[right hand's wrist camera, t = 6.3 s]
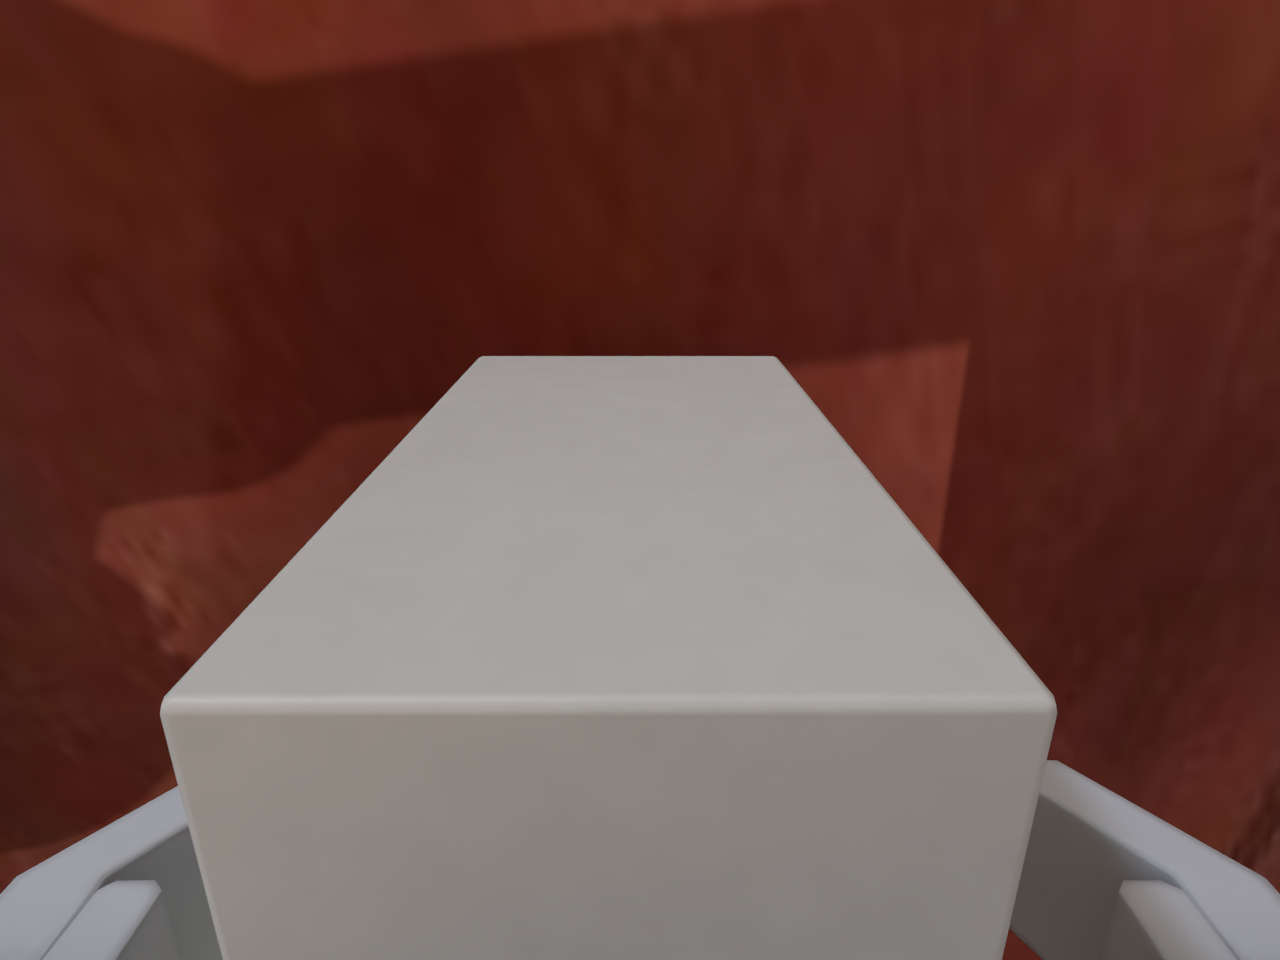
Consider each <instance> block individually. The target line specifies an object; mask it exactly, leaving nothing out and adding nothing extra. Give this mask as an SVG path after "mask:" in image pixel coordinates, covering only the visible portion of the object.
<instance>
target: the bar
mask: <svg viewBox="0 0 1280 960" xmlns="http://www.w3.org/2000/svg"><path fill="white" fill-rule="evenodd" d="M160 717H161V721H162V725H163V729H164V733H165V736H166V740H167V744H168V748H169V752H170V756H171V760H172V764H173V768H174V771H175V775H176V779H177V783H178V787H179V791H180V795H181V799H182V803H183V806H184V810H185V814H186V818H187V822H188V826H189V830H190V834H191V838H192V841H193V845H194V849H195V853H196V857H197V861H198V865H199V869H200V873H201V876H202V880H203V884H204V888H205V892H206V896H207V900H208V904H209V908H210V911H211V915H212V919H213V923H214V927H215V931H216V935H217V939H218V943H219V946H220V950H221V954H222V958H223V960H1002V957H1003V952H1004V948H1005V943H1006V939H1007V935H1008V930H1009V926H1010V921H1011V917H1012V912H1013V908H1014V903H1015V899H1016V895H1017V890H1018V886H1019V881H1020V877H1021V872H1022V868H1023V863H1024V859H1025V855H1026V850H1027V846H1028V841H1029V837H1030V832H1031V828H1032V823H1033V819H1034V814H1035V810H1036V806H1037V801H1038V797H1039V792H1040V788H1041V783H1042V779H1043V774H1044V770H1045V766H1046V761H1047V757H1048V752H1049V748H1050V743H1051V739H1052V734H1053V730H1054V726H1055V721H1056V717H1057V708H1056V703H1055V699H1054V696H1053V694H1052V693H1051V692H1050V691H1049V689H1048V688H1047V687H1046V686H1045V685H1044V683H1043V682H1042V681H1041V680H1040V678H1039V677H1038V676H1037V675H1036V674H1035V672H1034V671H1033V670H1032V669H1031V667H1030V666H1029V665H1028V664H1027V663H1026V661H1025V660H1024V659H1023V658H1022V656H1021V655H1020V654H1019V653H1018V652H1017V650H1016V649H1015V648H1014V647H1013V645H1012V644H1011V643H1010V642H1009V641H1008V639H1007V638H1006V637H1005V636H1004V634H1003V633H1002V632H1001V631H1000V630H999V628H998V627H997V626H996V625H995V624H994V622H993V621H992V620H991V619H990V617H989V616H988V615H987V614H986V613H985V611H984V610H983V609H982V608H981V606H980V605H979V604H978V603H977V602H976V600H975V599H974V598H973V597H972V595H971V594H970V593H969V592H968V591H967V589H966V588H965V587H964V586H963V584H962V583H961V582H960V581H959V580H958V578H957V577H956V576H955V575H954V573H953V572H952V571H951V570H950V569H949V567H948V566H947V565H946V564H945V562H944V561H943V560H942V559H941V558H940V556H939V555H938V554H937V553H936V551H935V550H934V549H933V548H932V547H931V545H930V544H929V543H928V542H927V540H926V539H925V538H924V537H923V536H922V534H921V533H920V532H919V531H918V529H917V528H916V527H915V526H914V525H913V523H912V522H911V521H910V520H909V518H908V517H907V516H906V515H905V514H904V512H903V511H902V510H901V509H900V507H899V506H898V505H897V504H896V503H895V501H894V500H893V499H892V498H891V496H890V495H889V494H888V493H887V492H886V490H885V489H884V488H883V487H882V485H881V484H880V483H879V482H878V481H877V479H876V478H875V477H874V476H873V474H872V473H871V472H870V471H869V470H868V468H867V467H866V466H865V465H864V463H863V462H862V461H861V460H860V459H859V457H858V456H857V455H856V454H855V452H854V451H853V450H852V449H851V448H850V446H849V445H848V444H847V443H846V441H845V440H844V439H843V438H842V437H841V435H840V434H839V433H838V432H837V430H836V429H835V428H834V427H833V426H832V424H831V423H830V422H829V421H828V419H827V418H826V417H825V416H824V415H823V413H822V412H821V411H820V410H819V408H818V407H817V406H816V405H815V404H814V402H813V401H812V400H811V399H810V397H809V396H808V395H807V394H806V393H805V391H804V390H803V389H802V388H801V386H800V385H799V384H798V383H797V382H796V380H795V379H794V378H793V377H792V375H791V374H790V373H789V372H788V371H787V369H786V368H785V367H784V366H783V364H782V363H781V362H780V361H779V360H778V358H776V357H774V356H482V357H480V358H478V359H477V360H476V361H475V363H474V364H473V365H472V366H471V367H470V368H469V369H468V370H467V371H466V372H465V373H464V374H463V375H462V377H461V378H460V379H459V380H458V381H457V382H456V383H455V384H454V385H453V386H452V387H451V388H450V389H449V391H448V392H447V393H446V394H445V395H444V396H443V397H442V398H441V399H440V400H439V401H438V402H437V403H436V405H435V406H434V407H433V408H432V409H431V410H430V411H429V412H428V413H427V414H426V415H425V416H424V417H423V419H422V420H421V421H420V422H419V423H418V424H417V425H416V426H415V427H414V428H413V429H412V430H411V431H410V433H409V434H408V435H407V436H406V437H405V438H404V439H403V440H402V441H401V442H400V443H399V444H398V445H397V447H396V448H395V449H394V450H393V451H392V452H391V453H390V454H389V455H388V456H387V457H386V458H385V459H384V461H383V462H382V463H381V464H380V465H379V466H378V467H377V468H376V469H375V470H374V471H373V472H372V473H371V475H370V476H369V477H368V478H367V479H366V480H365V481H364V482H363V483H362V484H361V485H360V486H359V487H358V489H357V490H356V491H355V492H354V493H353V494H352V495H351V496H350V497H349V498H348V499H347V500H346V501H345V503H344V504H343V505H342V506H341V507H340V508H339V509H338V510H337V511H336V512H335V513H334V514H333V515H332V517H331V518H330V519H329V520H328V521H327V522H326V523H325V524H324V525H323V526H322V527H321V528H320V529H319V531H318V532H317V533H316V534H315V535H314V536H313V537H312V538H311V539H310V540H309V541H308V542H307V543H306V545H305V546H304V547H303V548H302V549H301V550H300V551H299V552H298V553H297V554H296V555H295V556H294V557H293V559H292V560H291V561H290V562H289V563H288V564H287V565H286V566H285V567H284V568H283V569H282V570H281V571H280V573H279V574H278V575H277V576H276V577H275V578H274V579H273V580H272V581H271V582H270V583H269V584H268V585H267V587H266V588H265V589H264V590H263V591H262V592H261V593H260V594H259V595H258V596H257V597H256V598H255V599H254V601H253V602H252V603H251V604H250V605H249V606H248V607H247V608H246V609H245V610H244V611H243V612H242V613H241V615H240V616H239V617H238V618H237V619H236V620H235V621H234V622H233V623H232V624H231V625H230V626H229V628H228V629H227V630H226V631H225V632H224V633H223V634H222V635H221V636H220V637H219V638H218V639H217V640H216V642H215V643H214V644H213V645H212V646H211V647H210V648H209V649H208V650H207V651H206V652H205V653H204V654H203V656H202V657H201V658H200V659H199V660H198V661H197V662H196V663H195V664H194V665H193V666H192V667H191V668H190V670H189V671H188V672H187V673H186V674H185V675H184V676H183V677H182V678H181V679H180V680H179V681H178V682H177V684H176V685H175V686H174V687H173V688H172V689H171V690H170V691H169V692H168V693H167V694H166V695H165V696H164V699H163V701H162V704H161V710H160Z"/></svg>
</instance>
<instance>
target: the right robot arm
mask: <svg viewBox="0 0 1280 960" xmlns="http://www.w3.org/2000/svg"><path fill="white" fill-rule="evenodd" d="M1009 928H1010V929H1011V930H1012V931H1013V932H1014V933H1015V934H1016V935H1017V936H1018V937H1019V938H1020V939H1021V940H1022V941H1023V942H1024V943H1025V944H1027V945H1028V946H1029V947H1030V948H1031V949H1032V950H1033V951H1034V952H1035V953H1036V954H1037V955H1038V956H1039V957H1040V958H1041V959H1042V960H1280V894H1279V892H1278V891H1277V890H1276V889H1275V888H1274V887H1273V886H1272V885H1271V884H1270V883H1269V881H1268V880H1267V879H1266V878H1264V877H1263V876H1261V875H1259V874H1257V873H1256V872H1254V871H1252V870H1250V869H1248V868H1247V867H1245V866H1243V865H1241V864H1240V863H1238V862H1236V861H1234V860H1233V859H1231V858H1229V857H1227V856H1225V855H1224V854H1222V853H1220V852H1218V851H1217V850H1215V849H1213V848H1211V847H1209V846H1208V845H1206V844H1204V843H1202V842H1201V841H1199V840H1197V839H1195V838H1194V837H1192V836H1190V835H1188V834H1186V833H1185V832H1183V831H1181V830H1179V829H1178V828H1176V827H1174V826H1172V825H1171V824H1169V823H1167V822H1165V821H1163V820H1162V819H1160V818H1158V817H1156V816H1155V815H1153V814H1151V813H1149V812H1147V811H1146V810H1144V809H1142V808H1140V807H1139V806H1137V805H1135V804H1133V803H1132V802H1130V801H1128V800H1126V799H1124V798H1123V797H1121V796H1119V795H1117V794H1116V793H1114V792H1112V791H1110V790H1108V789H1107V788H1105V787H1103V786H1101V785H1100V784H1098V783H1096V782H1094V781H1093V780H1091V779H1089V778H1087V777H1085V776H1084V775H1082V774H1080V773H1078V772H1077V771H1075V770H1073V769H1071V768H1070V767H1068V766H1066V765H1064V764H1062V763H1061V762H1059V761H1057V760H1047V761H1046V766H1045V770H1044V774H1043V779H1042V783H1041V788H1040V792H1039V797H1038V801H1037V806H1036V810H1035V814H1034V819H1033V823H1032V828H1031V832H1030V837H1029V841H1028V846H1027V850H1026V855H1025V859H1024V863H1023V868H1022V872H1021V877H1020V881H1019V886H1018V890H1017V895H1016V899H1015V903H1014V908H1013V912H1012V917H1011V921H1010V926H1009ZM0 960H223V958H222V954H221V950H220V946H219V943H218V939H217V935H216V931H215V927H214V923H213V919H212V915H211V911H210V908H209V904H208V900H207V896H206V892H205V888H204V884H203V880H202V876H201V873H200V869H199V865H198V861H197V857H196V853H195V849H194V845H193V841H192V838H191V834H190V830H189V826H188V822H187V818H186V814H185V810H184V806H183V803H182V799H181V795H180V791H179V787H178V786H177V787H175V788H173V789H171V790H170V791H168V792H166V793H164V794H163V795H161V796H159V797H157V798H155V799H154V800H152V801H150V802H148V803H147V804H145V805H143V806H141V807H139V808H138V809H136V810H134V811H132V812H131V813H129V814H127V815H125V816H123V817H122V818H120V819H118V820H116V821H115V822H113V823H111V824H109V825H107V826H106V827H104V828H102V829H100V830H99V831H97V832H95V833H93V834H91V835H90V836H88V837H86V838H84V839H83V840H81V841H79V842H77V843H75V844H74V845H72V846H70V847H68V848H67V849H65V850H63V851H61V852H59V853H58V854H56V855H54V856H52V857H51V858H49V859H47V860H45V861H44V862H42V863H40V864H38V865H36V866H35V867H33V868H31V869H29V870H28V871H26V872H24V873H22V874H20V875H19V876H17V877H16V878H15V879H14V880H13V881H12V882H11V883H10V884H9V885H8V887H7V888H6V889H5V890H4V891H3V892H2V893H1V894H0Z"/></svg>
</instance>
